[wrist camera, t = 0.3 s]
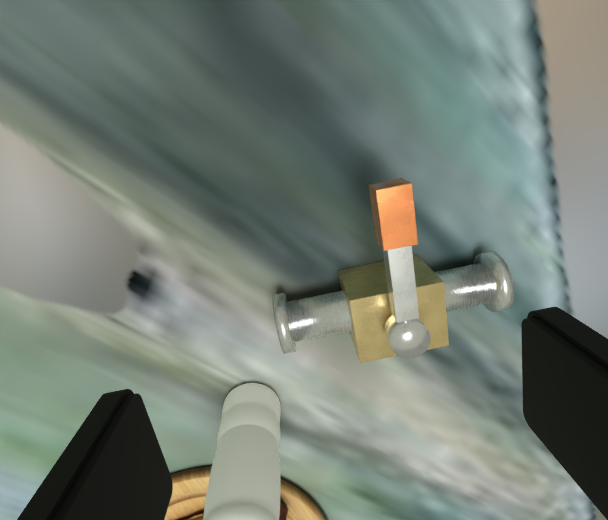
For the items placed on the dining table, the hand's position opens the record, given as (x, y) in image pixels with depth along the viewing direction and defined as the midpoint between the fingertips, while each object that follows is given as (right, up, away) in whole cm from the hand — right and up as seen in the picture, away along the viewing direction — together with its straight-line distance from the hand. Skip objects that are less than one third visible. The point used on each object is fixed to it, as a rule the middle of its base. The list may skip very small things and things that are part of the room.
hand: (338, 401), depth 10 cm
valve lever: (+7, +3, +26) cm, 28 cm away
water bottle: (-7, -15, +41) cm, 44 cm away
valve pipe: (+8, 0, +37) cm, 37 cm away
